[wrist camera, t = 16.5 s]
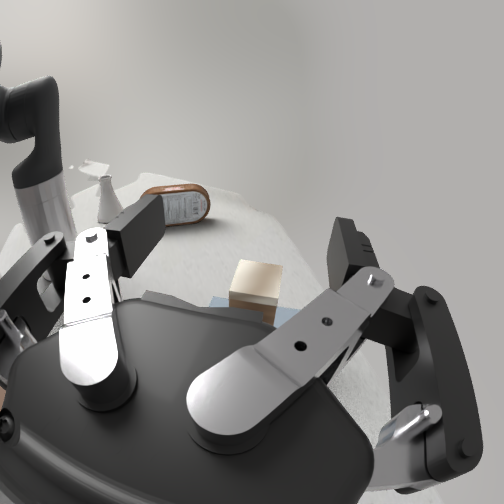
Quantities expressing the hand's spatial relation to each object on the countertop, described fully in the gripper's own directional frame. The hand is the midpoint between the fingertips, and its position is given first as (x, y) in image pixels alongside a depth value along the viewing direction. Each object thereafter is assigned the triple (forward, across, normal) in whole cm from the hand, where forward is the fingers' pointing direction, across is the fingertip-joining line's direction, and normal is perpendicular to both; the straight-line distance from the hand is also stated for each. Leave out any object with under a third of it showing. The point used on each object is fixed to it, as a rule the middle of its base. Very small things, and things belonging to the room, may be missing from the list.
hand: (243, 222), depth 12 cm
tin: (+36, +20, +22) cm, 47 cm away
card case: (+10, 0, +21) cm, 23 cm away
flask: (+36, +37, +22) cm, 56 cm away
